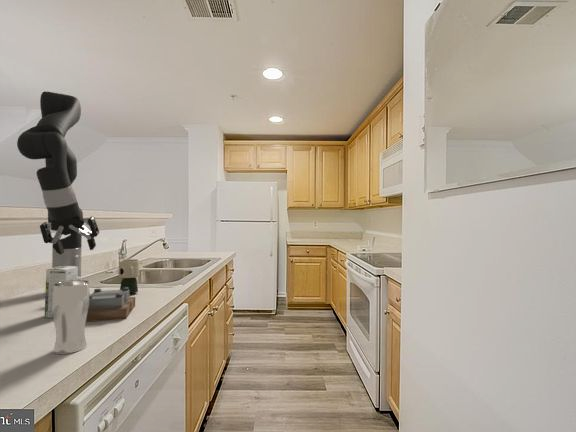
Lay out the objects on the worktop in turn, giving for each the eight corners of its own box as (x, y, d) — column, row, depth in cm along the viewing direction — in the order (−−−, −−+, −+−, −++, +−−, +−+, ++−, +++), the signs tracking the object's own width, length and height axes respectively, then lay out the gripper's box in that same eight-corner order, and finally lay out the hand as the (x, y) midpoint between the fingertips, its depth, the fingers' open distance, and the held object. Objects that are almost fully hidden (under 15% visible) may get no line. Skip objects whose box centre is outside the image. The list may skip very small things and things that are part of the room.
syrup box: (57, 312, 93) (58, 265, 93) (77, 311, 93) (78, 265, 93) (44, 318, 87) (45, 268, 87) (65, 317, 88) (66, 268, 88)
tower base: (91, 308, 96) (91, 287, 96) (135, 305, 100) (135, 285, 100) (74, 322, 84) (75, 298, 84) (126, 318, 88) (126, 295, 88)
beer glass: (47, 358, 63) (48, 287, 63) (55, 345, 69) (56, 281, 69) (86, 351, 66) (87, 284, 66) (90, 340, 72) (91, 278, 72)
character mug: (116, 292, 118) (117, 259, 118) (136, 289, 122) (137, 258, 122) (120, 298, 109) (120, 263, 109) (141, 295, 113) (142, 261, 113)
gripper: (92, 196, 93) (105, 242, 99) (39, 201, 89) (56, 249, 95) (84, 203, 86) (98, 252, 92) (26, 209, 82) (45, 260, 88)
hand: (77, 251), depth 93 cm, fingers open, 8 cm apart
